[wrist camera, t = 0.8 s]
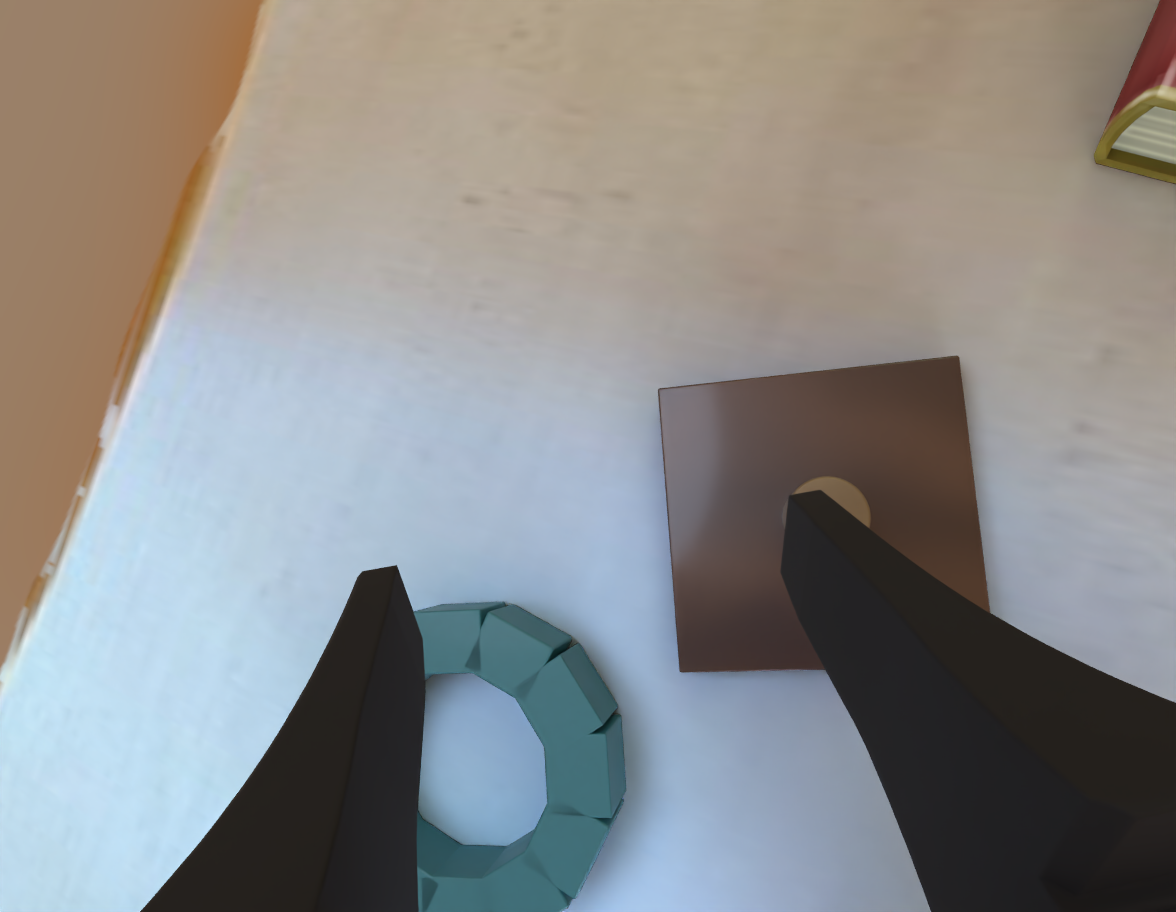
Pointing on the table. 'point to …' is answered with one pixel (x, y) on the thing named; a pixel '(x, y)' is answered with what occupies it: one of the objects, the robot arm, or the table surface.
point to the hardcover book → (1147, 106)
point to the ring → (572, 761)
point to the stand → (801, 464)
